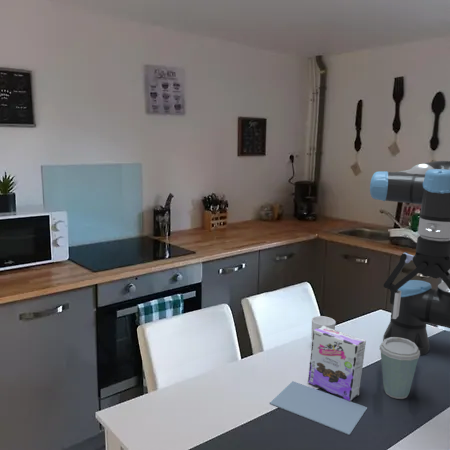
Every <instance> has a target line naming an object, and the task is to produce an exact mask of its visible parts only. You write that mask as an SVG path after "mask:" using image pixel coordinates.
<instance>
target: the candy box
mask: <svg viewBox="0 0 450 450" xmlns="http://www.w3.org/2000/svg"><path fill="white" fill-rule="evenodd" d="M366 343H367V340H366V339H362V338H359V337H356V336H354V335H350V334H349V333H348V334H347V333H345V332H343V331H342V332H341V331H339V330H337V329H335V330H334V329H331V328H328V327H326V326H321V327H319V328H317V329H315V330H314V331H313V340H312V339H311V350H310V360H309V368H308V377H307V383H309V384H310V385H312V386H314V387H318V388H319V389H322V390H324V391H325V392H328V393H329V394H330V393H331V394H332V395H334V396H336V397H339V398H342V399H345V400H348V401H351V402H352V400H354V399H355V398H357V397H358V396H359V395H360V389H361V381H362V380H361V379H362V373H363V367H364V366H363V365H364V358H365V352H366Z"/></svg>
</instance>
